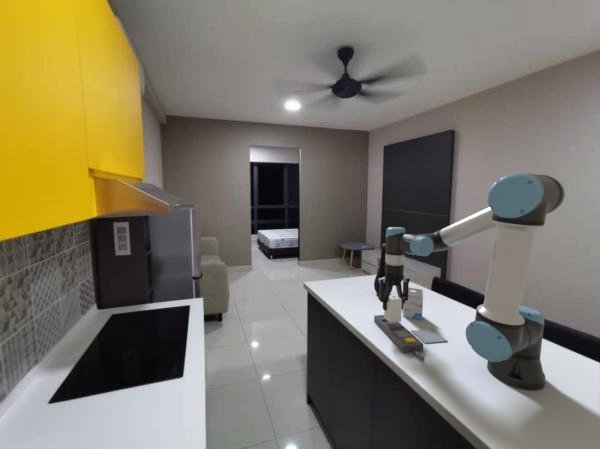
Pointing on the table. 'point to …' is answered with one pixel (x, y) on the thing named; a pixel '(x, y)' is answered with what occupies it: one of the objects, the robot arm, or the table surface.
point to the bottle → (381, 270)
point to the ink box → (413, 304)
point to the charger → (394, 308)
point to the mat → (429, 336)
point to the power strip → (400, 336)
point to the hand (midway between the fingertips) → (392, 316)
